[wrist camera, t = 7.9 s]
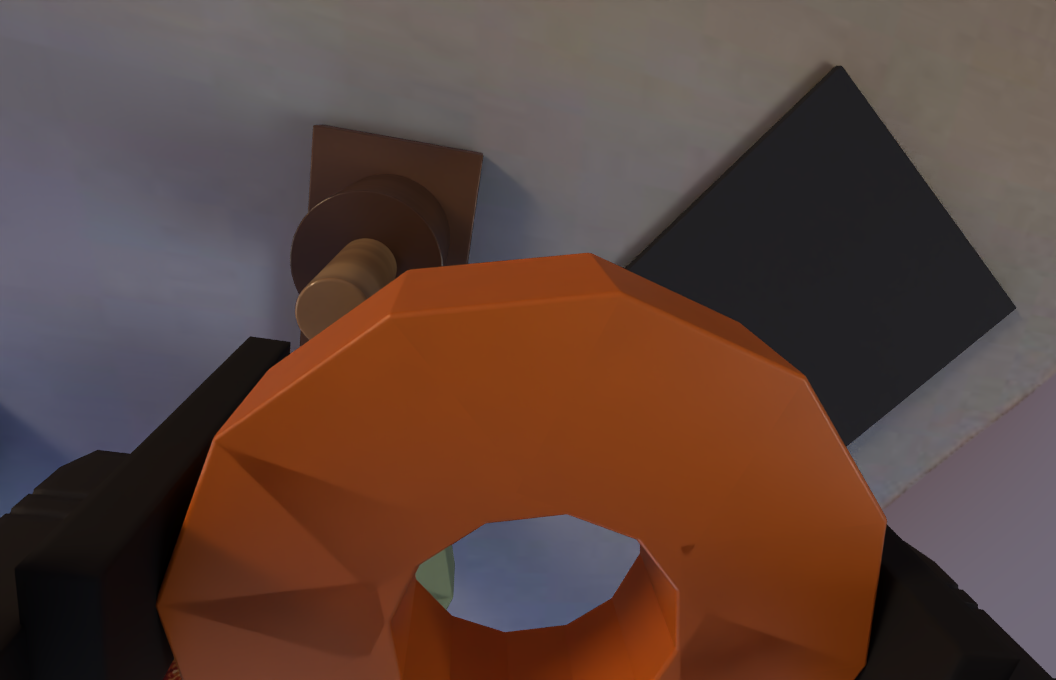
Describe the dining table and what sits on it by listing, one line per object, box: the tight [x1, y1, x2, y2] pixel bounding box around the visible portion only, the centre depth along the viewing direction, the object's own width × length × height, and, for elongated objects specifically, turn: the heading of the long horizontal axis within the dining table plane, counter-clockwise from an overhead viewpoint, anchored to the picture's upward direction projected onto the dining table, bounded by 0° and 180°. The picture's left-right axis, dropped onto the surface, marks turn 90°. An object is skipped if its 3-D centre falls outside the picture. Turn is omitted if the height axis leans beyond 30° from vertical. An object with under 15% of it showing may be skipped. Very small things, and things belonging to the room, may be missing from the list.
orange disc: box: [156, 253, 887, 680], centre depth 9 cm, size 9×9×2 cm
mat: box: [625, 66, 1016, 446], centre depth 32 cm, size 20×16×1 cm
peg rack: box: [290, 125, 483, 347], centre depth 24 cm, size 20×7×13 cm, turn 170°
